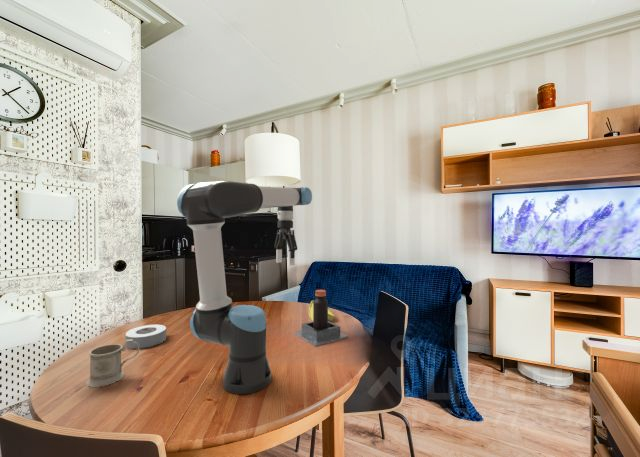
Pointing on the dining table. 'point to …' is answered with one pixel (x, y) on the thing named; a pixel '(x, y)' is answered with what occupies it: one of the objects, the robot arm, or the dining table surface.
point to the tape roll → (146, 336)
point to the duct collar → (320, 334)
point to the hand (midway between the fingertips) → (285, 263)
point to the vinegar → (320, 310)
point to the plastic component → (330, 314)
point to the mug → (107, 364)
